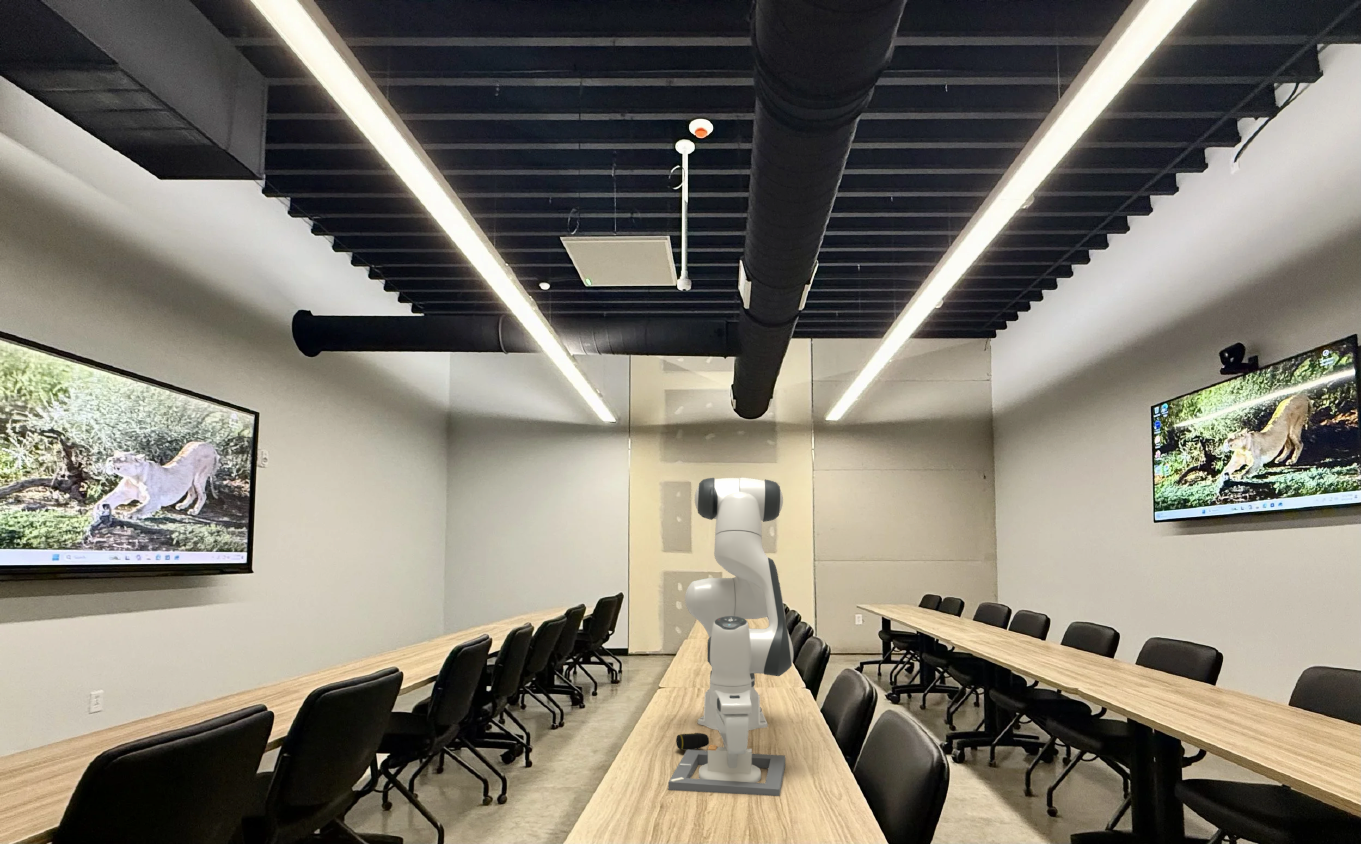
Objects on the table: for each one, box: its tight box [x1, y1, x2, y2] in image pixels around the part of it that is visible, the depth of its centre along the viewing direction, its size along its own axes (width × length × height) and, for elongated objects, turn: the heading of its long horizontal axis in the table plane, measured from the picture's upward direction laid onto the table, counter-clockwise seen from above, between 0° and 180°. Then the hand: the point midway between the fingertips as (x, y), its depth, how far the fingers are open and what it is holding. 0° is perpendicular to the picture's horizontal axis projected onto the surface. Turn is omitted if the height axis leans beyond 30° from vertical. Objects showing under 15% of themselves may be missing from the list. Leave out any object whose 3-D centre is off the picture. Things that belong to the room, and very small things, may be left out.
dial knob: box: [698, 744, 762, 783], centre depth 173 cm, size 13×13×6 cm
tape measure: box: [675, 732, 710, 752], centre depth 193 cm, size 7×7×4 cm
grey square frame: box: [667, 749, 786, 797], centre depth 173 cm, size 22×22×3 cm
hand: (730, 763), depth 173 cm, fingers closed on dial knob, 3 cm apart
